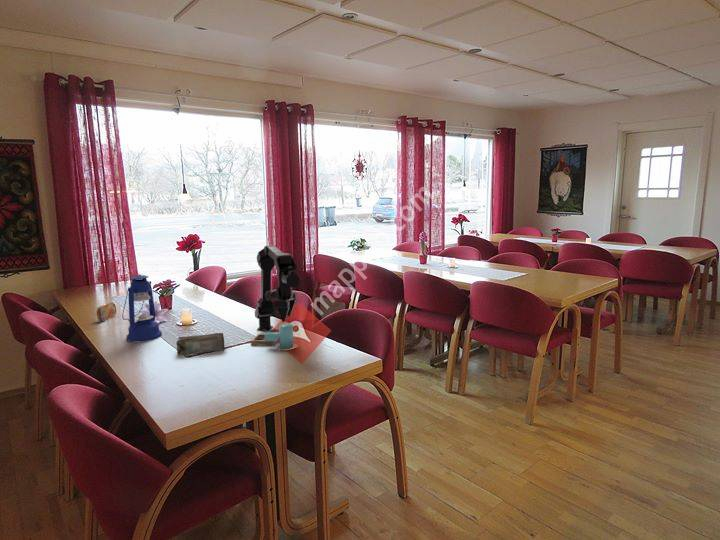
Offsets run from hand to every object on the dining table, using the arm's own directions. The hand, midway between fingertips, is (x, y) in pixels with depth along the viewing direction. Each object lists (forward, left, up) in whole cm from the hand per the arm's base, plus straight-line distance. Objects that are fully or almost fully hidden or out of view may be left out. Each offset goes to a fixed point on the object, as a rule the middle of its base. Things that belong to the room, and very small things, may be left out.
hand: (286, 318), depth 199 cm
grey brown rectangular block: (+5, -37, -13) cm, 39 cm away
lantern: (-11, -72, -13) cm, 74 cm away
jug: (0, -3, -13) cm, 13 cm away
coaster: (0, 0, -13) cm, 13 cm away
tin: (-40, -110, -13) cm, 118 cm away
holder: (-7, -12, -13) cm, 19 cm away
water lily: (-35, -80, -13) cm, 88 cm away
